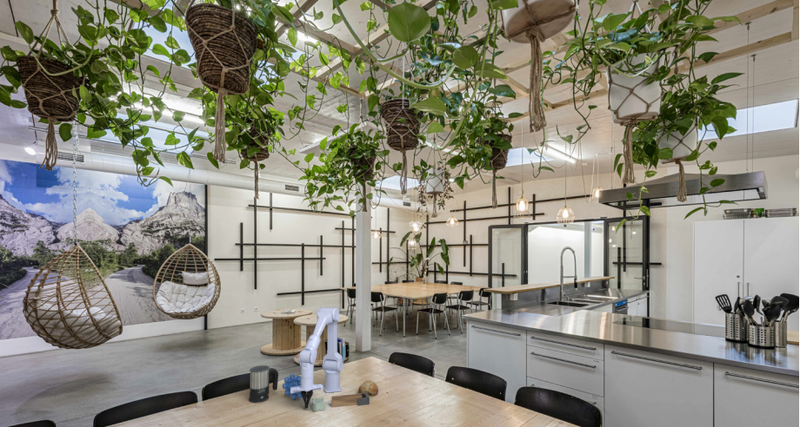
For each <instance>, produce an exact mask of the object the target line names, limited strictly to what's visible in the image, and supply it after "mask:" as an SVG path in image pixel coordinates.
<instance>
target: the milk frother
mask: <svg viewBox="0 0 800 427" xmlns="http://www.w3.org/2000/svg"><path fill="white" fill-rule="evenodd" d="M249 372H250V374H249V379H250V380H249V399H248V401H249V403H252V404H253V403H255V404H256V403H263V402H265V401H268V400H269V398H270V397H269V394H270V374H272V390H273V391H277V390H278V382H279V371H278V370H277V369H276V368H273V367H270V366H269V365H255V366H252V367H250V368H249Z"/></svg>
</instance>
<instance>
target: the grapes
mask: <svg viewBox="0 0 800 427" xmlns="http://www.w3.org/2000/svg"><path fill="white" fill-rule="evenodd" d="M283 379H284V383H282V389H284V390H285V391H284V394H285V396H287V397H290V399H291V400H296V399H298V400H299V399H303V398H302V395H301V392H295V393H290V389H291V388H292V387H297V386H301V375H295V374H293V373H291V374H290V375H289V376H285V377H284V378H283Z"/></svg>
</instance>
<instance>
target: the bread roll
mask: <svg viewBox="0 0 800 427" xmlns="http://www.w3.org/2000/svg"><path fill="white" fill-rule="evenodd" d="M360 393H367V395H368V396H369V398H371V397H376V396H377V395H378V393H379V386H378V385H377V384H376V383H375V381H372V380H366V381H364V382H363V383H361V384H360V385H359V388H358V394H360Z"/></svg>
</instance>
